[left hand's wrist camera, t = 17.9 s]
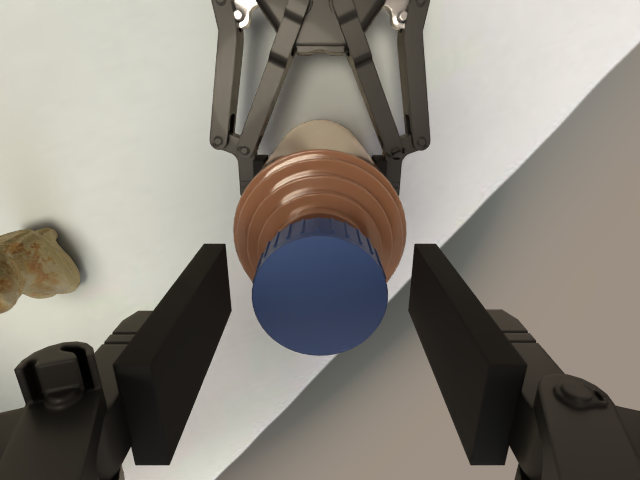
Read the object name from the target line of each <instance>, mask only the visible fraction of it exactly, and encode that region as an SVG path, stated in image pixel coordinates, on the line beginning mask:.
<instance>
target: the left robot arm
mask: <svg viewBox="0 0 640 480" xmlns="http://www.w3.org/2000/svg"><path fill="white" fill-rule="evenodd" d="M231 311H232V310H231V299H230V288H229V277H228V267H227V256H226V245H225V244H204V245H203V246H202V247H201V249H200V250H199V251H198V253H197V254H196V255H195V256H194V258H193V259H192V260H191V262H190V263H189V264H188V266H187V267H186V268H185V270H184V271H183V272H182V274H181V275H180V276H179V278H178V279H177V280H176V282H175V283H174V284H173V285H172V287H171V288H170V289H169V291H168V292H167V293H166V295H165V296H164V297H163V299H162V300H161V301H160V303H159V304H158V305H157V307H156V308H155V309H154V311H137V312H136V313H134V314H133V315H131V316H129V317H128V318H126V319H125V320H123V321H122V322H121V323H120V324H119V326H118V327H117V328H116V329H115V330H114V331H113V334H112V335H110V336H109V337H108V338H107V339H106V341H105V342H104V344H102V345H101V346H100V348H99V349H98V350H97V351H96V352H95V353H94V350H93V348H92V347H91V346H90V345H88V344H87V343H82V342H64V343H60V344H56V345H52V346H48V347H46V348H44V349H42V350H39V351H37V352H35V353H33V354H31V355H30V356H28V357H27V358H25V359H24V360H22V361H21V362H20V364H19V365H18V366H17V367H16V368H15V369H14V371H15V374H16V377H17V380H18V383H19V386H20V388H21V391H22V394H23V397H24V400H25V403H26V405H25V407H24V408H20V409H16V410H11V411H7V412H2V413H0V480H125V479H124V472H123V468H122V463H123V461H124V459H125V457H126V455H127V453H128V451H129V450H130V448H132V452H133V457H134V461H135V465H170V462H171V460H172V458H173V455H174V453H175V450H176V448H177V445H178V443H179V440H180V438H181V435H182V433H183V430H184V428H185V425H186V423H187V420H188V418H189V415H190V413H191V410H192V408H193V405H194V403H195V400H196V398H197V395H198V393H199V390H200V388H201V385H202V383H203V380H204V378H205V376H206V373H207V371H208V368H209V366H210V363H211V361H212V358H213V356H214V353H215V351H216V348H217V346H218V343H219V341H220V338H221V336H222V333H223V331H224V328H225V326H226V323H227V321H228V318H229V316H230V313H231ZM408 311H409V313H410V316H411V318H412V321H413V323H414V326H415V328H416V331H417V333H418V336H419V338H420V341H421V343H422V346H423V348H424V351H425V353H426V356H427V358H428V360H429V363H430V366H431V368H432V371H433V373H434V376H435V378H436V380H437V383H438V385H439V388H440V390H441V393H442V395H443V398H444V400H445V403H446V405H447V408H448V410H449V413H450V415H451V418H452V420H453V423H454V425H455V428H456V430H457V433H458V435H459V437H460V440H461V443H462V445H463V447H464V450H465V453H466V455H467V458H468V460H469V462H470V465H505V461H506V457H507V452H508V448H509V446H510V447H511V449H512V451H513V453H514V455H515V457H516V459H517V460H518V462H519V464H518V468H517V472H516V476H515V480H640V411H637V410H632V409H628V408H623V407H619V406H615V405H614V403H613V402H612V400H611V399H610V398H609V396H608V395H607V394H606V393H605V392H603V391H602V390H601V389H599V388H598V387H597V386H595V385H594V384H591V383H590V382H588V381H586V380H583V379H581V378H578V377H574V376H571V375H567V374H564V372H563V371H562V370H561V369H560V368H559V367H558V365H557V364H556V363H555V362H554V361H553V360H552V359H551V357H550V356H549V355H548V354H547V353H546V352H545V350H544V349H543V348H542V347H541V346H540V345H539V344H538V343H536V340H535V339H534V338H533V337H532V335H531V334H530V333H528V331H527V330H526V328H525V327H524V326H523V325H522V324H521V323H520V322H519V320H518V319H516V318H515V317H513V316H511V315H510V314H508V313H507V312H505V311H503V310H486V309H485V308H484V307H483V305H482V304H481V303H480V301H479V300H478V299H477V297H476V296H475V295H474V293H473V292H472V291H471V289H470V288H469V287H468V286H467V284H466V283H465V282H464V280H463V279H462V278H461V276H460V275H459V274H458V272H457V271H456V270H455V268H454V267H453V266H452V264H451V263H450V262H449V260H448V259H447V258H446V257H445V255H444V254H443V253H442V251H441V250H440V249H439V247H438V246H437V245H436V244H415V245H414V256H413V267H412V277H411V288H410V299H409V310H408Z"/></svg>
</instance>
